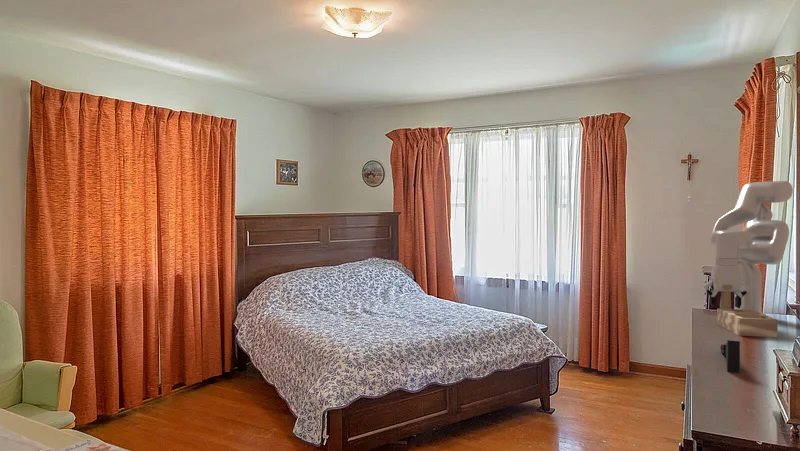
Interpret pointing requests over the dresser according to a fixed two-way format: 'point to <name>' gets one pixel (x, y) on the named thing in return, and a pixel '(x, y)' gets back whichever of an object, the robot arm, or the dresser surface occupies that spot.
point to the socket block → (747, 322)
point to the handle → (726, 298)
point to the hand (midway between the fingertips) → (725, 306)
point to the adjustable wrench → (732, 355)
